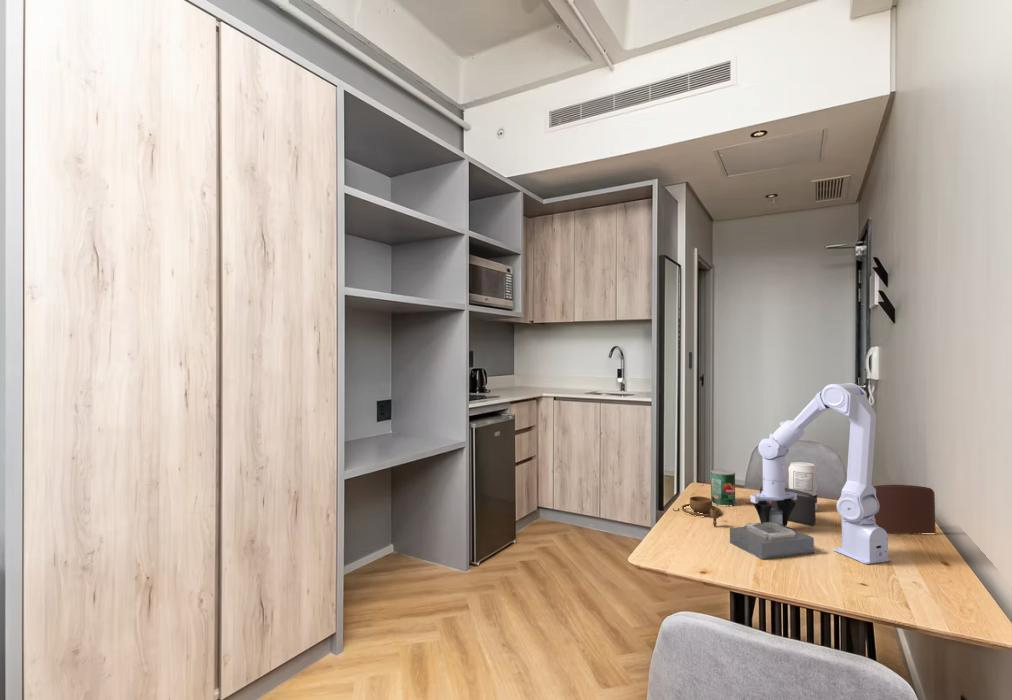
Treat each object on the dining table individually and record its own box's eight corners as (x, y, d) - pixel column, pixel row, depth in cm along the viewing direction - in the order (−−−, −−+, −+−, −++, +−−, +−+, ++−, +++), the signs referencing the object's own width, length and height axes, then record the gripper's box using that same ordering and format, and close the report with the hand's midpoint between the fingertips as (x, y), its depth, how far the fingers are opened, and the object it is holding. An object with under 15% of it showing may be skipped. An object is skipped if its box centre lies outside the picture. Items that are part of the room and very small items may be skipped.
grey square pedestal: (813, 553, 133) (813, 532, 133) (761, 559, 129) (761, 538, 129) (768, 532, 148) (767, 514, 148) (720, 537, 144) (720, 519, 144)
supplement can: (783, 506, 173) (782, 462, 173) (802, 504, 176) (801, 460, 176) (803, 513, 166) (803, 467, 166) (823, 511, 168) (822, 465, 168)
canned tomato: (733, 507, 173) (733, 475, 173) (709, 504, 177) (708, 472, 177) (737, 502, 179) (736, 470, 180) (713, 498, 183) (712, 468, 184)
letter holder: (936, 535, 146) (935, 485, 146) (863, 534, 147) (863, 485, 147) (911, 523, 156) (910, 477, 156) (843, 522, 157) (842, 476, 157)
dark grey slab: (820, 524, 155) (819, 493, 156) (814, 527, 153) (813, 495, 153) (765, 512, 168) (765, 483, 168) (759, 514, 165) (758, 485, 165)
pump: (786, 532, 148) (785, 511, 148) (773, 533, 147) (773, 512, 147) (774, 527, 153) (774, 507, 153) (762, 528, 152) (762, 508, 152)
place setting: (734, 513, 168) (733, 495, 168) (720, 531, 151) (720, 511, 151) (679, 505, 178) (679, 488, 178) (661, 520, 161) (661, 502, 161)
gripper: (783, 474, 156) (784, 519, 156) (743, 477, 152) (743, 523, 152) (802, 480, 149) (802, 526, 149) (760, 483, 145) (760, 531, 145)
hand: (774, 525), depth 150 cm, fingers open, 6 cm apart
